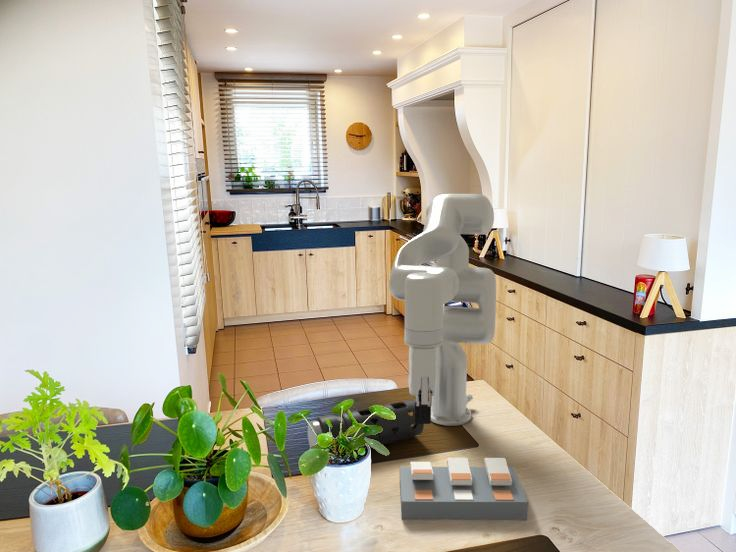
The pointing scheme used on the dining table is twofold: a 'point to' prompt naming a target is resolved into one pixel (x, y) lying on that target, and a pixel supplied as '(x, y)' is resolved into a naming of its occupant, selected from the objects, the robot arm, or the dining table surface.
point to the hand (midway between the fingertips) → (422, 421)
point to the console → (461, 497)
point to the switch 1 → (421, 471)
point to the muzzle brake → (372, 423)
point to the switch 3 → (497, 471)
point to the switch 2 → (459, 471)
